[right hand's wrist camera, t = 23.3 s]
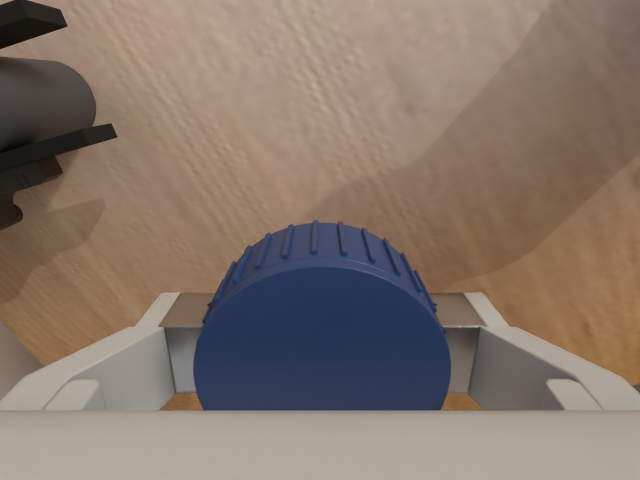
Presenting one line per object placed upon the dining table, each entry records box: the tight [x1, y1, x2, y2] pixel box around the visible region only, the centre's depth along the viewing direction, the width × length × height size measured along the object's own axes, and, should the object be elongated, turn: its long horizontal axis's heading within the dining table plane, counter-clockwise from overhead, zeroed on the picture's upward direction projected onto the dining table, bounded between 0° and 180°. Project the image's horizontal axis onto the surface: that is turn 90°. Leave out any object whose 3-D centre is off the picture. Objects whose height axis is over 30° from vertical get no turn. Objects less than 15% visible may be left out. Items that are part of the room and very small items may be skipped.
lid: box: [193, 221, 451, 410], centre depth 9 cm, size 5×5×2 cm
